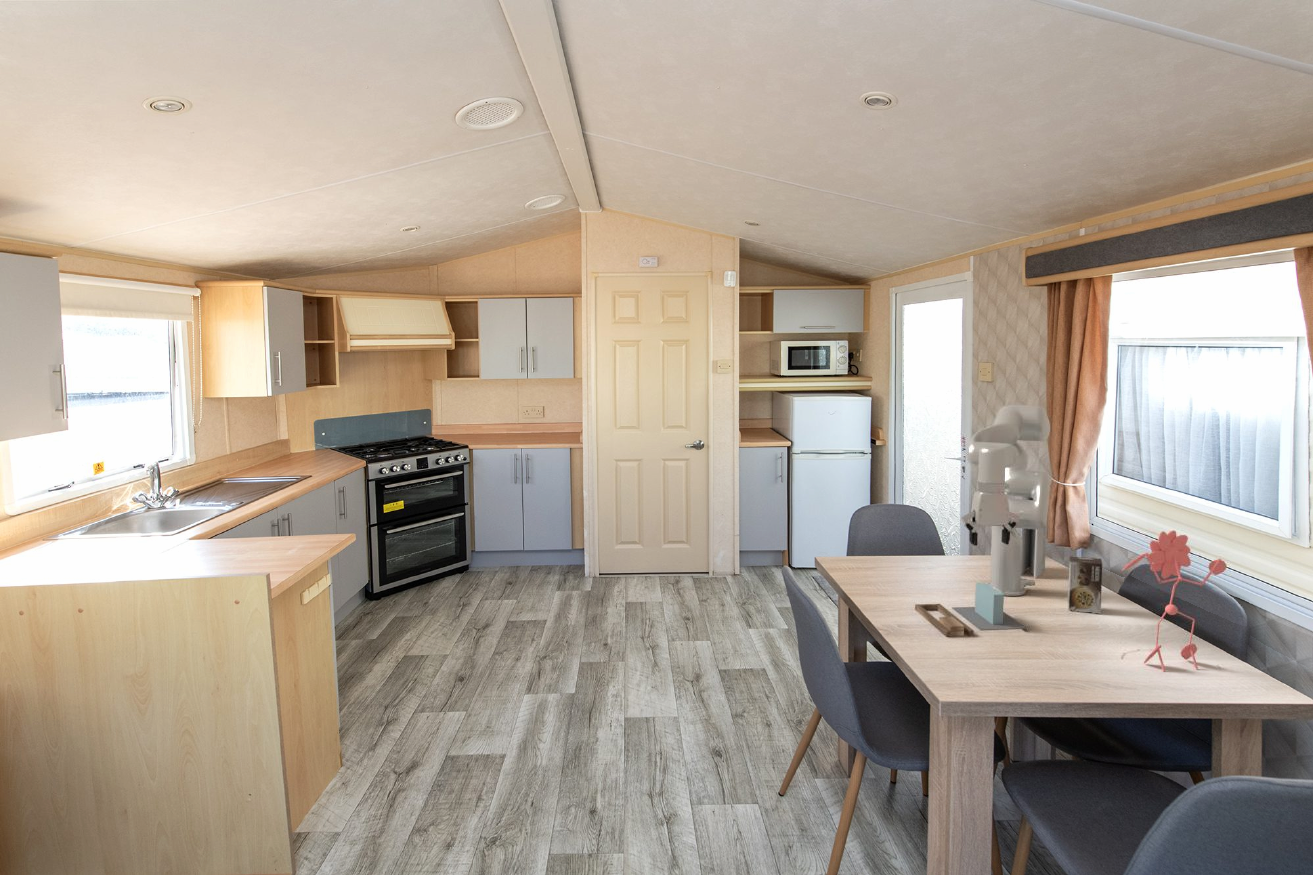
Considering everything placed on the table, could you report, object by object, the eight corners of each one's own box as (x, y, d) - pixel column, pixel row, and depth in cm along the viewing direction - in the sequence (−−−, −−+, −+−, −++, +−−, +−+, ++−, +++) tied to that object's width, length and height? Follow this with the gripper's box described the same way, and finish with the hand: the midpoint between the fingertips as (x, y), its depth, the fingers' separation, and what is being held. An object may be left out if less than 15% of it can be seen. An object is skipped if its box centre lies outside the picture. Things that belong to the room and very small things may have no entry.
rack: (939, 611, 257) (939, 603, 257) (973, 638, 234) (973, 630, 233) (915, 612, 257) (915, 604, 257) (946, 639, 233) (946, 631, 233)
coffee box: (1099, 608, 258) (1102, 558, 256) (1100, 614, 253) (1103, 563, 251) (1067, 604, 262) (1069, 555, 260) (1067, 611, 256) (1070, 560, 255)
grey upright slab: (1035, 578, 291) (1039, 495, 288) (1019, 576, 294) (1022, 493, 291) (1044, 569, 302) (1048, 489, 299) (1028, 567, 306) (1032, 487, 302)
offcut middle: (952, 626, 242) (952, 621, 242) (963, 636, 234) (964, 631, 234) (939, 627, 242) (939, 622, 241) (950, 636, 234) (950, 631, 233)
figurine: (1230, 668, 210) (1237, 534, 207) (1136, 674, 208) (1141, 538, 204) (1185, 648, 226) (1191, 522, 222) (1097, 653, 223) (1101, 526, 219)
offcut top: (952, 621, 242) (952, 616, 242) (963, 631, 234) (964, 626, 234) (938, 622, 241) (938, 617, 241) (950, 631, 233) (950, 626, 233)
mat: (995, 609, 259) (995, 606, 259) (1027, 631, 239) (1027, 628, 239) (951, 610, 258) (951, 607, 258) (980, 632, 238) (980, 629, 238)
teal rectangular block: (984, 610, 254) (985, 582, 253) (1002, 624, 242) (1003, 594, 241) (974, 611, 254) (975, 582, 253) (992, 624, 242) (993, 594, 241)
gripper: (1013, 484, 249) (1011, 539, 251) (957, 486, 247) (956, 541, 250) (1026, 489, 241) (1023, 546, 243) (968, 491, 240) (966, 548, 242)
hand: (989, 543), depth 246 cm, fingers open, 9 cm apart
